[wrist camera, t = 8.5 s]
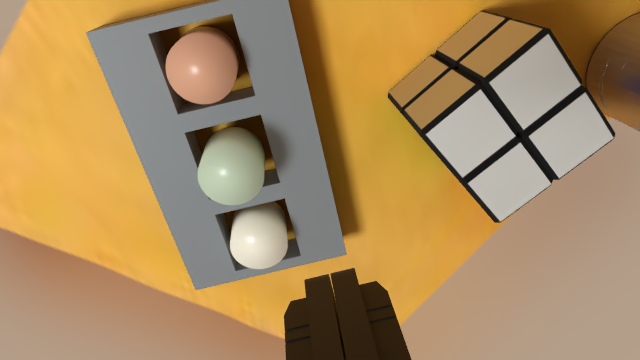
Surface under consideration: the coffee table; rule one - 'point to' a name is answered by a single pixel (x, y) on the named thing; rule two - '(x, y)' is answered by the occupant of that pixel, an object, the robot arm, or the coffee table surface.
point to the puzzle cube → (503, 111)
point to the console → (183, 118)
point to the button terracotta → (203, 65)
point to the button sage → (232, 166)
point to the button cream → (259, 235)
